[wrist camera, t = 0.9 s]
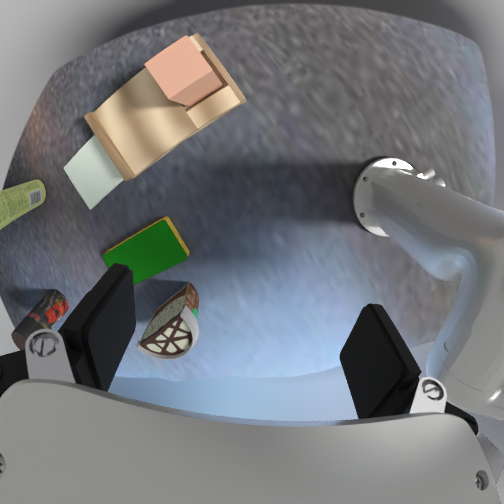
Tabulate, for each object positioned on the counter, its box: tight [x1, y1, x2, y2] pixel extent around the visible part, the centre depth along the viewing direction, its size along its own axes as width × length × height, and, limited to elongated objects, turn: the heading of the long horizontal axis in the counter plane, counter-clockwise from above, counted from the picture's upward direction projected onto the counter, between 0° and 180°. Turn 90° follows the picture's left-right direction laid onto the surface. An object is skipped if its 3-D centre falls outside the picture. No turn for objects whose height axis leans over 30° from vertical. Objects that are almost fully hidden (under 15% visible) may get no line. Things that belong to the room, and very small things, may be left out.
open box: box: [84, 33, 246, 182], centre depth 31 cm, size 19×12×4 cm, turn 122°
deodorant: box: [12, 289, 69, 350], centre depth 41 cm, size 6×6×15 cm
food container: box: [137, 282, 199, 360], centre depth 43 cm, size 12×6×10 cm, turn 130°
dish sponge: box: [102, 216, 190, 285], centre depth 42 cm, size 7×14×2 cm, turn 116°
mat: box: [63, 135, 124, 210], centre depth 37 cm, size 9×9×1 cm
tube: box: [0, 179, 46, 230], centre depth 29 cm, size 6×5×20 cm
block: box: [144, 35, 223, 107], centre depth 26 cm, size 5×5×10 cm
